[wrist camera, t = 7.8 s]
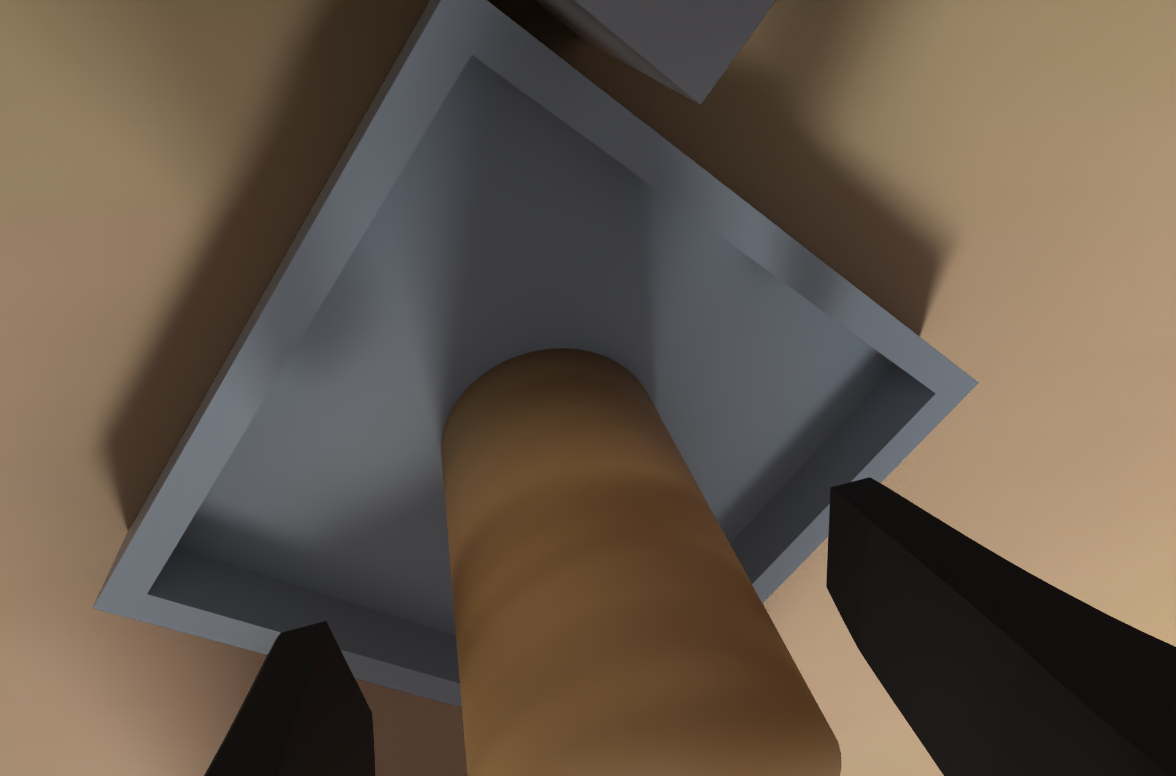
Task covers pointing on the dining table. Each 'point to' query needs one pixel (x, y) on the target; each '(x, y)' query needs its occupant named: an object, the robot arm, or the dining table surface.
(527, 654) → the dowel
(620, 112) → the tray
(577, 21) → the grey square box
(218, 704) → the dining table surface
